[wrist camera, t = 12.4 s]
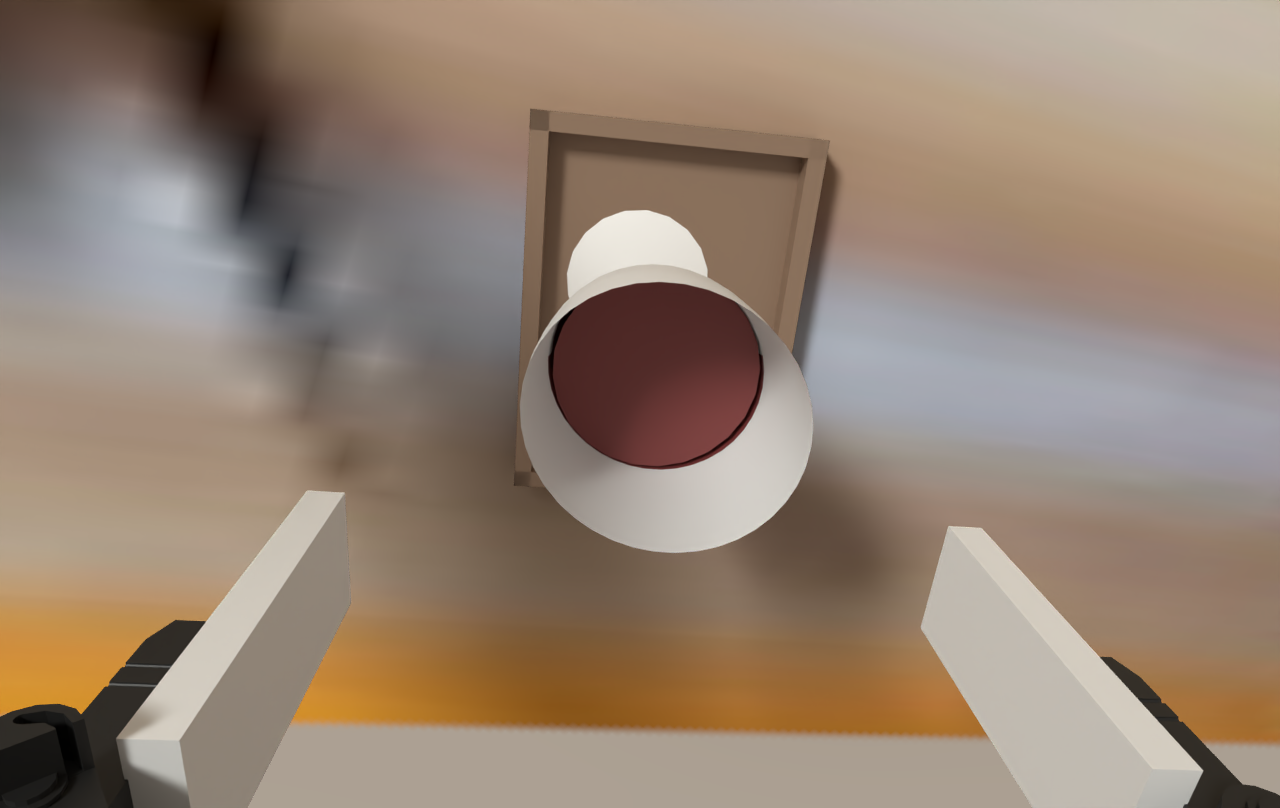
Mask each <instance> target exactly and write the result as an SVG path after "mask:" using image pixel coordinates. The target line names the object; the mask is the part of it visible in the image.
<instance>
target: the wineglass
mask: <svg viewBox="0 0 1280 808" xmlns="http://www.w3.org/2000/svg"><path fill="white" fill-rule="evenodd" d="M707 270H708V269H707V266H706V263H705V260H704V256H703V253H702V250H701V248H700V246H699V245H698V243H697V242H696V241H695V239H694V238H693V237H692V235H691V234H690V232H689V231H688V230H687V229H686V228H684V227H683V226H681V225H680V224H679V223H677V222H676V221H674V220H673V219H672V218H670V217H668V216H665V215H662V214H658V213H655V212H652V211H649V210H636V211H623V212H620V213H617V214H615V215H612V216H609V217H606V218H604V219H602V220H601V221H600V222H598V223H597V224H596V225H594V226H593V227H592V228H591V229H589V230H588V231H587V232H586V233H585V234H584V235H583V237H582V238H581V240H580V241H579V243H578V245H577V246H576V248H575V249H574V251H573V253H572V256H571V260H570V264H569V268H568V271H567V283H568V296H569V300H567V301H566V302H565V303H564V304H563V305H562V307H561V308H560V309H559V311H558V312H557V313H556V315H555V316H554V317H553V318H552V320H551V321H550V323H549V324H548V326H547V327H546V329H545V330H544V332H543V334H542V336H541V338H540V340H539V342H538V343H537V345H536V347H535V349H534V351H533V354H532V356H531V359H530V361H529V364H528V368H527V371H526V374H525V377H524V380H523V384H522V392H521V400H520V419H521V429H522V434H523V438H524V443H525V447H526V450H527V452H528V455H529V457H530V460H531V462H532V465H533V468H534V469H535V471H536V473H537V474H538V476H539V478H540V479H541V481H542V483H543V484H544V486H545V487H546V489H547V490H548V491H549V492H550V494H551V495H552V496H553V497H554V498H555V500H556V501H557V502H558V503H559V504H560V505H561V506H562V507H563V508H564V509H565V510H566V511H567V512H569V513H570V514H571V515H572V516H573V517H574V518H575V519H577V520H578V521H580V522H581V523H583V524H584V525H585V526H587V527H588V528H590V529H591V530H593V531H595V532H597V533H599V534H601V535H603V536H605V537H607V538H609V539H611V540H613V541H616V542H619V543H622V544H625V545H628V546H630V547H634V548H639V549H644V550H649V551H654V552H669V553H682V552H696V551H701V550H706V549H710V548H715V547H719V546H722V545H724V544H727V543H730V542H732V541H735V540H738V539H739V538H741V537H743V536H745V535H747V534H749V533H750V532H752V531H754V530H756V529H757V528H758V527H760V526H761V525H762V524H764V523H765V522H766V521H768V520H769V519H770V518H772V516H773V515H774V514H775V513H776V512H777V511H778V510H779V509H780V508H781V507H782V506H783V505H784V504H785V503H786V501H787V500H788V499H789V497H790V496H791V494H792V493H793V491H794V490H795V488H796V487H797V485H798V483H799V481H800V479H801V477H802V475H803V472H804V470H805V468H806V465H807V461H808V458H809V454H810V450H811V445H812V435H813V416H812V405H811V400H810V396H809V392H808V388H807V384H806V382H805V379H804V377H803V375H802V372H801V370H800V368H799V365H798V363H797V362H796V360H795V359H794V357H793V355H792V354H791V352H790V351H789V349H788V347H787V346H786V344H785V343H784V342H783V341H782V340H781V339H780V338H779V336H778V335H777V334H776V333H775V332H774V331H773V330H772V328H771V327H770V326H769V325H768V324H767V323H766V322H765V321H764V320H763V319H762V317H761V316H759V315H758V314H757V313H756V312H755V311H754V310H753V309H752V308H750V307H749V306H748V305H747V304H746V303H744V302H743V301H742V300H741V299H740V298H739V297H737V296H736V295H735V294H734V293H733V292H731V291H730V290H728V289H727V288H725V287H723V286H722V285H720V284H718V283H717V282H715V281H713V280H712V279H710V278H708V277H707Z"/></svg>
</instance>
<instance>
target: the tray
mask: <svg viewBox="0 0 1280 808" xmlns="http://www.w3.org/2000/svg"><path fill="white" fill-rule="evenodd" d="M829 143H830V140H821V139H811V138H802V137H792V136H783V135H774V134H764V133H755V132H745V131H736V130H726V129H717V128H707V127H698V126H689V125H679V124H670V123H660V122H651V121H641V120H632V119H622V118H613V117H603V116H594V115H585V114H575V113H566V112H556V111H547V110H537V109H530V131H529V154H528V177H527V200H526V222H525V245H524V268H523V291H522V314H521V336H520V359H519V382H518V405H517V428H516V451H515V473H514V486H528V487H543V488H546V487H545V486H544V484H543V483H542V481H541V479H540V478H539V476H538V474H537V473H536V471H535V469H534V468H533V465H532V462H531V460H530V457H529V455H528V452H527V450H526V447H525V443H524V438H523V434H522V429H521V419H520V400H521V392H522V384H523V380H524V377H525V374H526V371H527V368H528V364H529V361H530V359H531V356H532V354H533V351H534V349H535V347H536V345H537V343H538V342H539V340H540V338H541V336H542V334H543V332H544V330H545V329H546V327H547V326H548V324H549V323H550V321H551V320H552V318H553V317H554V316H555V315H556V313H557V312H558V311H559V309H560V308H561V307H562V305H563V304H564V303H565V302H566V301H567V300H569V296H568V283H567V271H568V268H569V264H570V260H571V256H572V253H573V251H574V249H575V248H576V246H577V245H578V243H579V241H580V240H581V238H582V237H583V235H584V234H585V233H586V232H587V231H588V230H589V229H591V228H592V227H593V226H594V225H596V224H597V223H598V222H600V221H601V220H602V219H604V218H606V217H609V216H612V215H615V214H617V213H620V212H623V211H636V210H649V211H652V212H655V213H658V214H662V215H665V216H668V217H670V218H672V219H673V220H674V221H676V222H677V223H679V224H680V225H681V226H683V227H684V228H686V229H687V230H688V231H689V232H690V234H691V235H692V237H693V238H694V239H695V241H696V242H697V243H698V245H699V246H700V248H701V250H702V253H703V256H704V260H705V263H706V266H707V269H708V270H707V277H708V278H710V279H712V280H713V281H715V282H717V283H718V284H720V285H722V286H723V287H725V288H727V289H728V290H730V291H731V292H733V293H734V294H735V295H736V296H737V297H739V298H740V299H741V300H742V301H743V302H744V303H746V304H747V305H748V306H749V307H750V308H752V309H753V310H754V311H755V312H756V313H757V314H758V315H759V316H761V317H762V319H763V320H764V321H765V322H766V323H767V324H768V325H769V326H770V327H771V328H772V330H773V331H774V332H775V333H776V334H777V335H778V336H779V338H780V339H781V340H782V341H783V342H784V343H785V344H786V346H787V347H788V349H789V351H790V352H791V354H792V350H793V344H794V339H795V333H796V328H797V322H798V316H799V311H800V305H801V300H802V294H803V288H804V283H805V277H806V272H807V266H808V260H809V255H810V249H811V244H812V238H813V232H814V227H815V221H816V216H817V210H818V204H819V199H820V193H821V187H822V182H823V176H824V171H825V165H826V159H827V154H828V148H829Z"/></svg>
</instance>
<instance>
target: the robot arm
mask: <svg viewBox="0 0 1280 808" xmlns="http://www.w3.org/2000/svg"><path fill="white" fill-rule="evenodd" d="M350 604H351V591H350V574H349V556H348V539H347V521H346V504H345V493H341V492H323V491H306V493H305V494H304V495H303V497H302V498H301V499H300V501H299V502H298V503H297V504H296V506H295V507H294V508H293V510H292V511H291V512H290V514H289V515H288V516H287V517H286V519H285V520H284V521H283V523H282V524H281V525H280V526H279V528H278V529H277V530H276V532H275V533H274V534H273V536H272V537H271V538H270V539H269V541H268V542H267V543H266V545H265V546H264V547H263V549H262V550H261V551H260V552H259V554H258V555H257V556H256V558H255V559H254V560H253V562H252V563H251V564H250V565H249V567H248V568H247V569H246V571H245V572H244V573H243V575H242V576H241V577H240V578H239V580H238V581H237V582H236V584H235V585H234V586H233V587H232V589H231V590H230V591H229V593H228V594H227V595H226V597H225V598H224V599H223V600H222V602H221V603H220V604H219V606H218V607H217V608H216V610H215V611H214V612H213V613H212V615H211V616H210V617H209V619H208V620H207V621H184V620H175V621H173V622H172V623H170V624H169V625H167V626H166V627H164V628H163V629H161V630H160V631H158V632H157V633H155V634H153V635H152V636H150V637H149V638H147V639H146V640H145V641H144V642H143V643H142V644H141V646H140V647H139V648H138V649H137V650H136V651H135V653H134V654H133V655H132V656H131V657H130V658H129V660H128V661H127V662H126V665H125V667H122V668H121V669H120V670H119V671H118V672H117V674H116V675H115V676H114V677H113V678H112V679H111V680H110V682H109V686H108V687H104V689H103V690H102V691H101V692H100V693H99V694H98V696H97V697H96V698H95V699H94V700H93V701H92V703H91V704H90V705H89V706H88V707H87V708H86V710H85V711H84V712H83V713H82V714H80V713H79V712H78V711H77V709H75V708H72V707H68V706H65V705H61V704H47V705H35V706H31V707H27V708H23V709H20V710H16V711H12V712H10V713H7V714H5V715H3V716H1V717H0V808H248V806H249V804H250V802H251V800H252V798H253V796H254V794H255V792H256V790H257V788H258V786H259V784H260V782H261V780H262V778H263V776H264V774H265V772H266V770H267V768H268V766H269V764H270V762H271V760H272V758H273V756H274V754H275V752H276V750H277V748H278V746H279V744H280V742H281V740H282V738H283V736H284V734H285V732H286V730H287V728H288V727H289V725H290V723H291V721H292V719H293V717H294V715H295V713H296V711H297V709H298V707H299V705H300V703H301V701H302V699H303V697H304V695H305V693H306V691H307V689H308V687H309V685H310V683H311V681H312V679H313V677H314V675H315V673H316V671H317V669H318V667H319V665H320V663H321V661H322V659H323V657H324V655H325V653H326V651H327V649H328V647H329V645H330V643H331V641H332V640H333V638H334V636H335V634H336V632H337V630H338V628H339V626H340V624H341V622H342V620H343V618H344V616H345V614H346V612H347V610H348V608H349V606H350ZM921 629H922V631H923V632H924V634H925V636H926V637H927V639H928V640H929V642H930V644H931V645H932V647H933V648H934V650H935V652H936V653H937V655H938V657H939V658H940V660H941V661H942V663H943V665H944V666H945V668H946V669H947V671H948V673H949V674H950V676H951V677H952V679H953V681H954V682H955V684H956V685H957V687H958V689H959V690H960V692H961V694H962V695H963V697H964V698H965V700H966V702H967V703H968V705H969V706H970V708H971V710H972V711H973V713H974V714H975V716H976V718H977V719H978V721H979V723H980V724H981V726H982V727H983V729H984V731H985V732H986V734H987V735H988V737H989V739H990V740H991V742H992V743H993V745H994V747H995V748H996V750H997V752H998V753H999V754H1000V756H1001V758H1002V759H1003V761H1004V763H1005V764H1006V766H1007V768H1008V769H1009V771H1010V772H1011V774H1012V776H1013V777H1014V779H1015V781H1016V782H1017V783H1018V785H1019V787H1020V788H1021V790H1022V792H1023V793H1024V795H1025V797H1026V798H1027V800H1028V801H1029V803H1030V805H1031V806H1032V808H1280V796H1279V795H1278V794H1276V793H1273V792H1270V791H1267V790H1264V789H1261V788H1259V787H1256V786H1250V785H1243V784H1242V783H1241V782H1240V781H1239V780H1238V779H1237V778H1236V777H1235V776H1234V775H1233V774H1232V773H1231V772H1230V771H1229V770H1228V769H1227V768H1226V767H1225V766H1224V765H1223V764H1222V762H1221V761H1220V760H1219V759H1218V758H1217V757H1216V756H1215V755H1214V754H1213V753H1212V752H1211V751H1210V750H1209V749H1208V748H1207V747H1206V746H1205V745H1204V744H1203V743H1202V741H1201V740H1200V739H1199V738H1198V737H1197V736H1196V735H1195V734H1194V733H1193V732H1192V731H1191V730H1190V729H1189V728H1188V727H1187V726H1186V725H1185V724H1184V723H1183V722H1179V720H1178V716H1177V715H1176V714H1175V713H1174V712H1173V711H1172V710H1171V709H1170V708H1169V707H1168V706H1167V705H1166V704H1165V703H1161V699H1160V697H1159V696H1158V695H1157V694H1156V693H1155V692H1154V691H1153V690H1152V689H1151V688H1150V687H1149V686H1148V685H1147V684H1146V683H1145V682H1144V681H1143V680H1142V679H1141V678H1140V677H1139V676H1138V675H1136V674H1135V673H1133V672H1132V671H1130V670H1129V669H1128V668H1126V667H1125V666H1123V665H1122V664H1120V663H1119V662H1117V661H1116V660H1114V659H1113V658H1112V657H1099V656H1098V655H1097V654H1096V653H1095V652H1094V651H1093V649H1092V648H1091V647H1090V646H1089V645H1088V644H1087V643H1086V642H1085V641H1084V640H1083V639H1082V637H1081V636H1080V635H1079V634H1078V633H1077V632H1076V631H1075V630H1074V629H1073V628H1072V627H1071V625H1070V624H1069V623H1068V622H1067V621H1066V620H1065V619H1064V618H1063V617H1062V616H1061V615H1060V613H1059V612H1058V611H1057V610H1056V609H1055V608H1054V607H1053V606H1052V605H1051V604H1050V602H1049V601H1048V600H1047V599H1046V598H1045V597H1044V596H1043V595H1042V594H1041V593H1040V592H1039V590H1038V589H1037V588H1036V587H1035V586H1034V585H1033V584H1032V583H1031V582H1030V581H1029V580H1028V578H1027V577H1026V576H1025V575H1024V574H1023V573H1022V572H1021V571H1020V570H1019V569H1018V568H1017V566H1016V565H1015V564H1014V563H1013V562H1012V561H1011V560H1010V559H1009V558H1008V557H1007V555H1006V554H1005V553H1004V552H1003V551H1002V550H1001V549H1000V548H999V547H998V546H997V545H996V543H995V542H994V541H993V540H992V539H991V538H990V537H989V536H988V535H987V534H986V533H985V531H984V530H983V529H982V528H973V527H955V526H948V530H947V533H946V537H945V541H944V544H943V548H942V551H941V555H940V559H939V562H938V566H937V570H936V573H935V577H934V581H933V584H932V588H931V592H930V595H929V599H928V603H927V606H926V610H925V614H924V617H923V621H922V625H921Z"/></svg>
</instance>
